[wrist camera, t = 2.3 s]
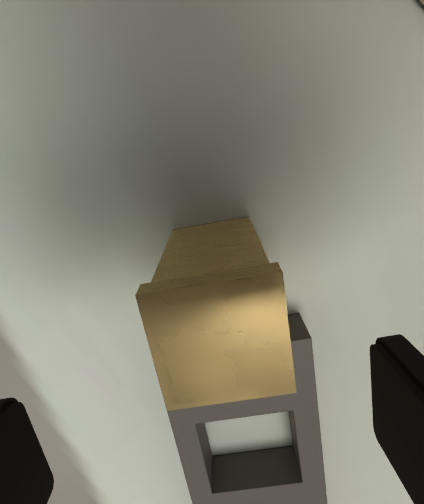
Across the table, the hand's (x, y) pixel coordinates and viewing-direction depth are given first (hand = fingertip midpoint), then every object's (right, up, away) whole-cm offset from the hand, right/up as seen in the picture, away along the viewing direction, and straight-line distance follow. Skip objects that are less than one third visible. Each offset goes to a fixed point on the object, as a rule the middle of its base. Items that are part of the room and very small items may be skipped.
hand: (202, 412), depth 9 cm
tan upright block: (+1, +4, +9) cm, 10 cm away
